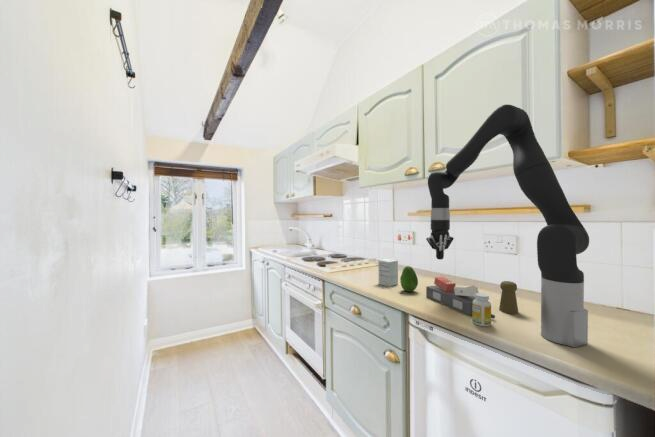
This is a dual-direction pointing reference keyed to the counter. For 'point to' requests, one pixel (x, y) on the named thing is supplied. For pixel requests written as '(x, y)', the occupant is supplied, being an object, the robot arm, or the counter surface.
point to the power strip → (451, 299)
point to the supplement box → (388, 272)
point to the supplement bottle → (481, 310)
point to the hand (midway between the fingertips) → (439, 259)
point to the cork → (508, 298)
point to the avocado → (409, 279)
